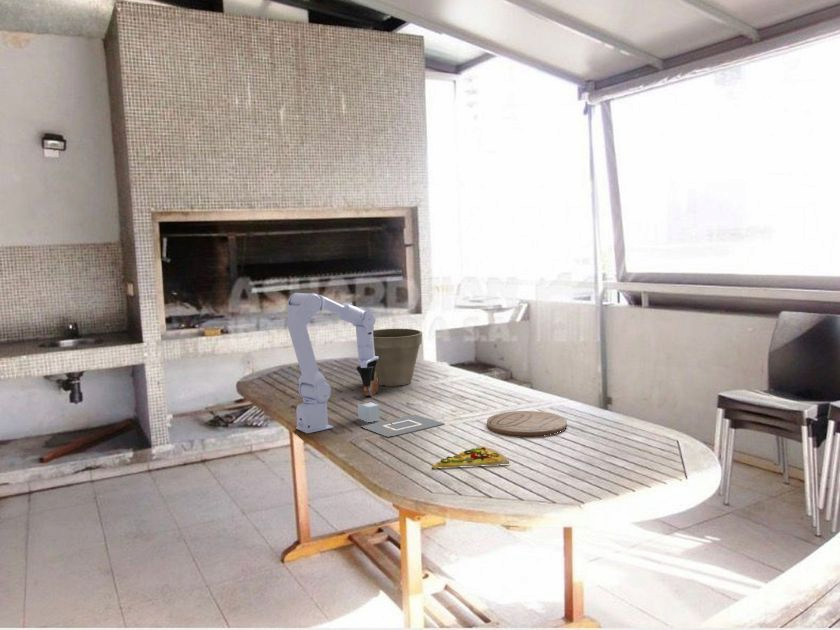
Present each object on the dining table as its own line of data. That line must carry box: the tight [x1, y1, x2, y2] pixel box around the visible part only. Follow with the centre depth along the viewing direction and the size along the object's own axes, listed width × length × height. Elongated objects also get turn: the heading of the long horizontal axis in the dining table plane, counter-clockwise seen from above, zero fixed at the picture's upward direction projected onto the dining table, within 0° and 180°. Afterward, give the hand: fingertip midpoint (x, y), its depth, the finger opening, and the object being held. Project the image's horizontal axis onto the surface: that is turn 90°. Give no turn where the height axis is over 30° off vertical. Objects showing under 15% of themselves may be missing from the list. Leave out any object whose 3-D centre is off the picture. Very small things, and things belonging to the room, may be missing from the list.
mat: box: [360, 414, 445, 438], centre depth 217 cm, size 22×16×1 cm
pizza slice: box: [431, 445, 510, 469], centre depth 179 cm, size 16×21×3 cm
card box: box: [357, 400, 380, 423], centre depth 225 cm, size 4×7×6 cm, turn 37°
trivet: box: [486, 410, 568, 438], centre depth 212 cm, size 25×25×2 cm
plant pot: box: [373, 328, 423, 387], centre depth 282 cm, size 25×25×22 cm
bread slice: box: [362, 371, 380, 397], centre depth 264 cm, size 15×3×8 cm, turn 168°
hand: (368, 383), depth 232 cm, fingers open, 7 cm apart
